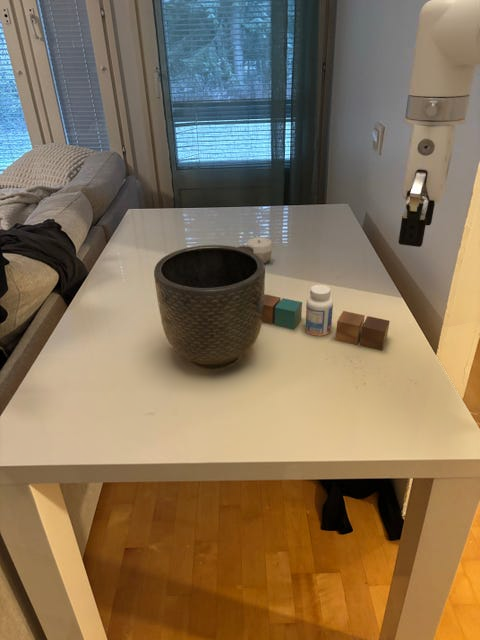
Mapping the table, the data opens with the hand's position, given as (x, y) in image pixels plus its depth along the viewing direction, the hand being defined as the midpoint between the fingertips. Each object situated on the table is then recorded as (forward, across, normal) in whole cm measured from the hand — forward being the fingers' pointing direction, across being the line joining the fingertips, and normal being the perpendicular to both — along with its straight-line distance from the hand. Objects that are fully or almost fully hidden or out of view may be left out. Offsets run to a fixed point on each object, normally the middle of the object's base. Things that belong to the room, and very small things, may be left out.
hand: (415, 233), depth 70 cm
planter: (+27, -6, +33) cm, 43 cm away
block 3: (+27, +11, +11) cm, 31 cm away
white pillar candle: (+27, +38, +43) cm, 63 cm away
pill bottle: (+27, +11, +17) cm, 34 cm away
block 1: (+27, +11, +29) cm, 41 cm away
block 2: (+27, +11, +24) cm, 38 cm away
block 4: (+28, +11, +6) cm, 30 cm away
